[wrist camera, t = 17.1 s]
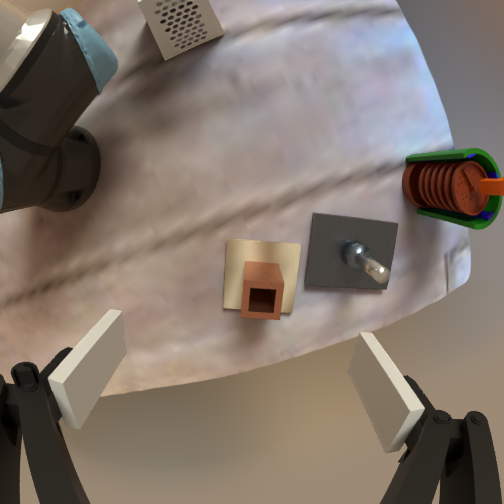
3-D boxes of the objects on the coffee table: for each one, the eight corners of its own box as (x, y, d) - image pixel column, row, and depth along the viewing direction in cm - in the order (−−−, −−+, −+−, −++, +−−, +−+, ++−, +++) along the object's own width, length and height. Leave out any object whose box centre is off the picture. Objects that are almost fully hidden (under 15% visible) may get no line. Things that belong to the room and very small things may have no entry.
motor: (391, 165, 42) (471, 161, 22) (428, 145, 41) (510, 134, 21) (415, 220, 44) (495, 245, 24) (449, 197, 43) (531, 211, 23)
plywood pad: (223, 305, 47) (223, 307, 46) (227, 238, 44) (227, 239, 44) (291, 310, 47) (292, 312, 46) (299, 244, 45) (300, 245, 44)
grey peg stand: (304, 282, 46) (321, 315, 34) (313, 212, 44) (335, 223, 31) (383, 286, 46) (417, 316, 34) (394, 222, 44) (435, 236, 32)
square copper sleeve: (242, 292, 45) (240, 317, 37) (245, 260, 44) (243, 280, 35) (275, 294, 45) (279, 319, 37) (278, 263, 44) (284, 283, 36)
